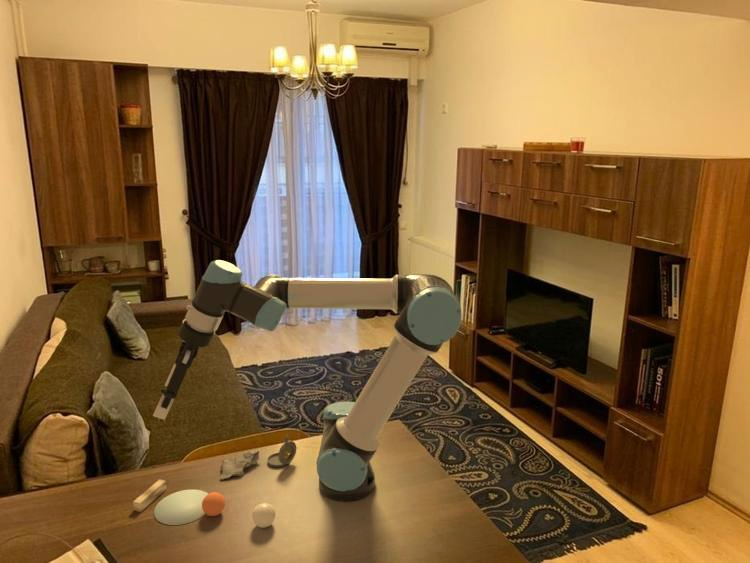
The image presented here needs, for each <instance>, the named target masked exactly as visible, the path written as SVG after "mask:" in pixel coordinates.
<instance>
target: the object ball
mask: <svg viewBox="0 0 750 563" xmlns="http://www.w3.org/2000/svg"><path fill="white" fill-rule="evenodd" d="M225 501H226V500H225V498H224V496H223V495H222V494H221V493H219V492H217V491H216V492H213V491H212V492H209V493H208V495H207V496H206V497H205V498H204V499H203V502H202V509H203V511H204V513H205V515H206V516H210V517H216V516H218V515H220V514H221V513H222V512H223V511H224V508H225V506H226V502H225Z"/></svg>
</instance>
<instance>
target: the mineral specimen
mask: <svg viewBox="0 0 750 563" xmlns="http://www.w3.org/2000/svg"><path fill="white" fill-rule="evenodd" d="M259 460H261V457H260V451H259V450H257V451H256V450H255V451H246V452H244V453H241V454H239V455H237V454H236V455H235V456H232V457H229V458H226V459H223V460H222V463H221V465H220V470H221V471H222V473H221V476H220V478H219V480H225V479H229V478H231V477H232V476H236V477H242V476H244V470H245V468H247V467H250V466H254V465H256V463H257V462H258V461H259Z"/></svg>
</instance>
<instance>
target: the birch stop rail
mask: <svg viewBox="0 0 750 563" xmlns="http://www.w3.org/2000/svg"><path fill="white" fill-rule="evenodd" d="M167 488H168V486H167V481H166V480H164V479H158V480H157V481H156V482H154V484H152V485H151V486H149V488H148V489H146V490H145V491H144V492H143V493H142V494H140V495H139V496H138V497H137V498H136V499H135V500H133V501H132V503H133V510H134V511H136V512H140V513H142V511H144V510H145V508H147V507H148V506H149V505H150V504H151V503H153V501H155V500H156V499H157V498H158V497H159V496H160V495H162V494H163V493H164V492H165V491H166V490H167Z"/></svg>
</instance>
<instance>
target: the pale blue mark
mask: <svg viewBox="0 0 750 563" xmlns="http://www.w3.org/2000/svg"><path fill="white" fill-rule="evenodd" d="M208 494H209V493H208V492H206V491H204V490H200V489H185V490H184V489H183V490H179V491H176V492H173V493H170V494H169V495H167V496H165V497H164V498H162V499H161V500H160V501H159V502H158V503H157V504H156V506H155V508H154V511H153V515H154V518H155V519H156V521H158V522H160V523H161V524H164V525H167V526H179V525H181V526H182V525H185V524H189V523H193V522H195V521H197V520H199V519H201V518H202V517H204V516H205V515H206V514H205V513H204V511H203V509H202V502H203V499H204V498H205V497H206V496H207V495H208Z"/></svg>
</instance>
